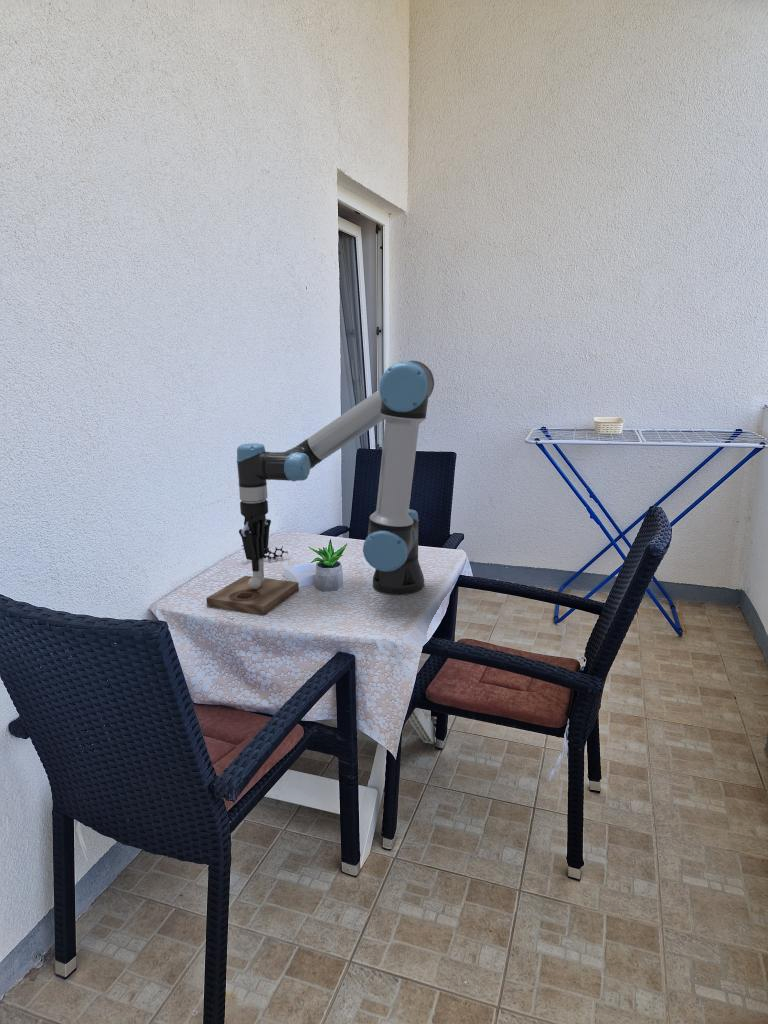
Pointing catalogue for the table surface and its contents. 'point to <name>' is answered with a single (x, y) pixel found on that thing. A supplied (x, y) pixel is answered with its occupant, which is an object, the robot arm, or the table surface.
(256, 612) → the wooden board
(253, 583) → the ball
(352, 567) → the table surface
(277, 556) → the molecular model
